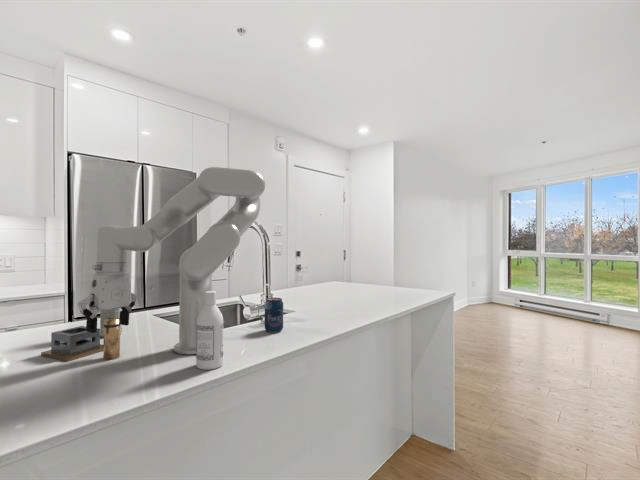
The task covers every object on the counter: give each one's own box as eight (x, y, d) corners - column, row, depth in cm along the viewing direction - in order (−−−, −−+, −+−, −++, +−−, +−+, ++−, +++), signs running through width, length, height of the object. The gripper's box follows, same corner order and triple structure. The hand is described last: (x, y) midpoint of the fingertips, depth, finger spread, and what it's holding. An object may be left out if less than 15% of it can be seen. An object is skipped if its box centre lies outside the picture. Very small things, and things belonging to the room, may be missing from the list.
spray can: (126, 332, 124) (126, 277, 124) (113, 338, 117) (113, 279, 117) (109, 332, 124) (109, 277, 124) (95, 337, 118) (95, 279, 118)
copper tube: (123, 356, 99) (123, 318, 99) (109, 360, 95) (110, 321, 95) (113, 354, 100) (113, 317, 100) (99, 358, 96) (100, 320, 96)
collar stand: (108, 349, 105) (109, 328, 105) (67, 361, 94) (67, 338, 94) (83, 344, 110) (83, 324, 110) (41, 355, 99) (41, 333, 99)
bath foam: (213, 359, 97) (214, 289, 97) (228, 365, 92) (228, 291, 92) (191, 366, 91) (191, 291, 91) (205, 372, 87) (205, 294, 87)
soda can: (268, 334, 123) (268, 301, 123) (261, 329, 129) (262, 298, 129) (286, 331, 126) (286, 299, 127) (278, 327, 132) (278, 296, 132)
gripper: (89, 271, 88) (86, 337, 88) (146, 267, 104) (143, 323, 104) (71, 269, 91) (67, 333, 91) (129, 266, 107) (126, 320, 107)
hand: (108, 328), depth 97 cm, fingers open, 9 cm apart
